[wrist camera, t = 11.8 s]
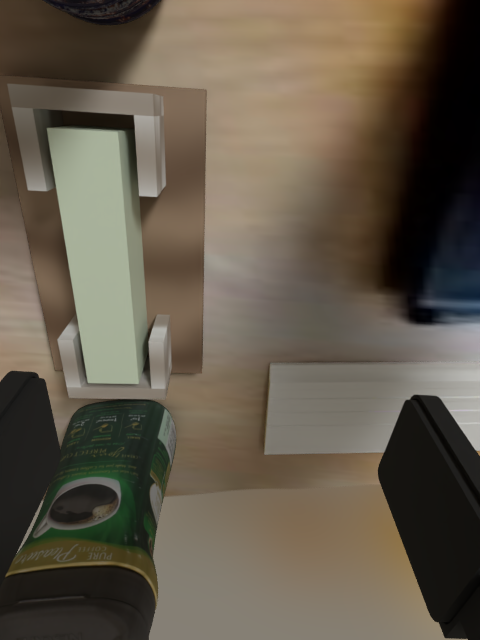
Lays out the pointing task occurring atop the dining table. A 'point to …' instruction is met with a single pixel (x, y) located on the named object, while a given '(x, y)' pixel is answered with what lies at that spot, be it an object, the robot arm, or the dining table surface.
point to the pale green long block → (103, 246)
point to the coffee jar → (95, 531)
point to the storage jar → (105, 9)
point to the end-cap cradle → (155, 210)
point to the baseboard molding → (360, 403)
